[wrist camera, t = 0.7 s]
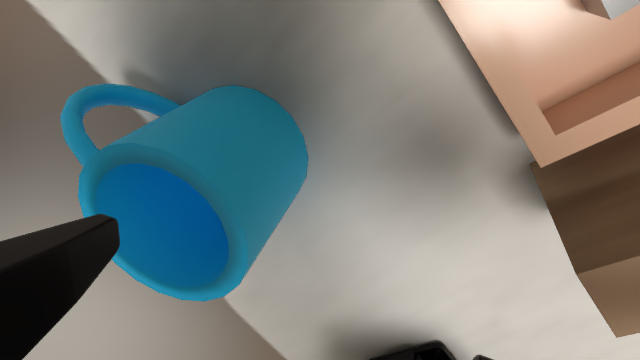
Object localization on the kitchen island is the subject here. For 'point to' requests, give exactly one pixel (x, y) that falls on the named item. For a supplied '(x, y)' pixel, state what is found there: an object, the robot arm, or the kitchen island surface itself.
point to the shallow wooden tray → (557, 66)
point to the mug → (189, 183)
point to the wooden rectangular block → (601, 222)
